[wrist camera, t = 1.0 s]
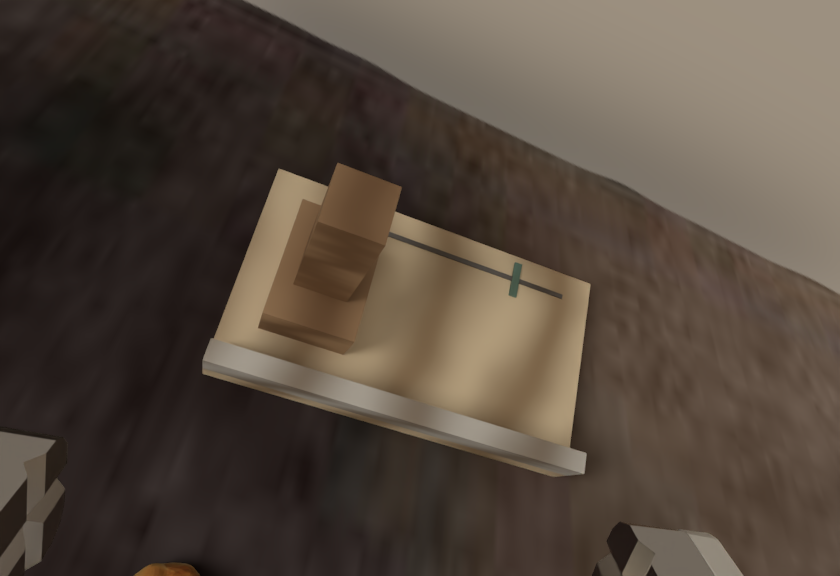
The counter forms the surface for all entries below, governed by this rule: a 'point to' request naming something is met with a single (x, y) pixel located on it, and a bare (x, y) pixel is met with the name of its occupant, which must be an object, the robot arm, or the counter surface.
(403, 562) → the counter surface
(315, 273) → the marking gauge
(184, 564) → the pastry
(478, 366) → the birch board
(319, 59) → the counter surface
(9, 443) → the robot arm
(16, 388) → the counter surface
